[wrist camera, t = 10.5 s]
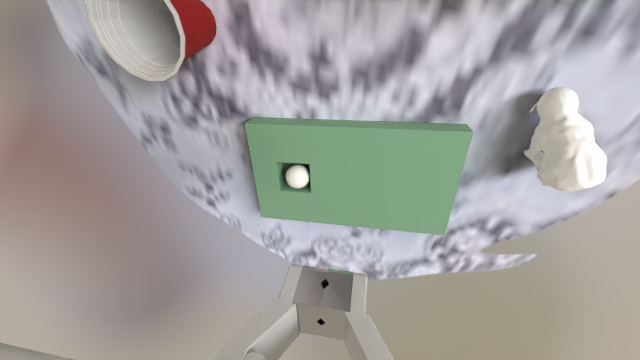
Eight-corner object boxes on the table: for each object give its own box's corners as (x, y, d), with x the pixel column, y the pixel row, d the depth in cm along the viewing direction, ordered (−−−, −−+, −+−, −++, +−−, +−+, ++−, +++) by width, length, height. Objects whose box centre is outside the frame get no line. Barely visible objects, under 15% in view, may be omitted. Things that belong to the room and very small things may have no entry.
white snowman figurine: (555, 202, 32) (546, 106, 28) (523, 173, 40) (513, 94, 36) (623, 190, 30) (624, 84, 26) (576, 162, 38) (572, 75, 34)
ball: (309, 159, 46) (285, 160, 46) (308, 171, 42) (283, 172, 42) (310, 179, 48) (287, 180, 48) (310, 192, 45) (285, 193, 45)
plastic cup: (167, 59, 41) (99, 73, 31) (154, -30, 35) (65, -48, 25) (235, 73, 40) (187, 92, 30) (233, -16, 35) (173, -28, 25)
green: (252, 117, 44) (244, 123, 41) (466, 124, 38) (472, 131, 36) (267, 207, 53) (261, 217, 50) (440, 223, 47) (444, 235, 45)
